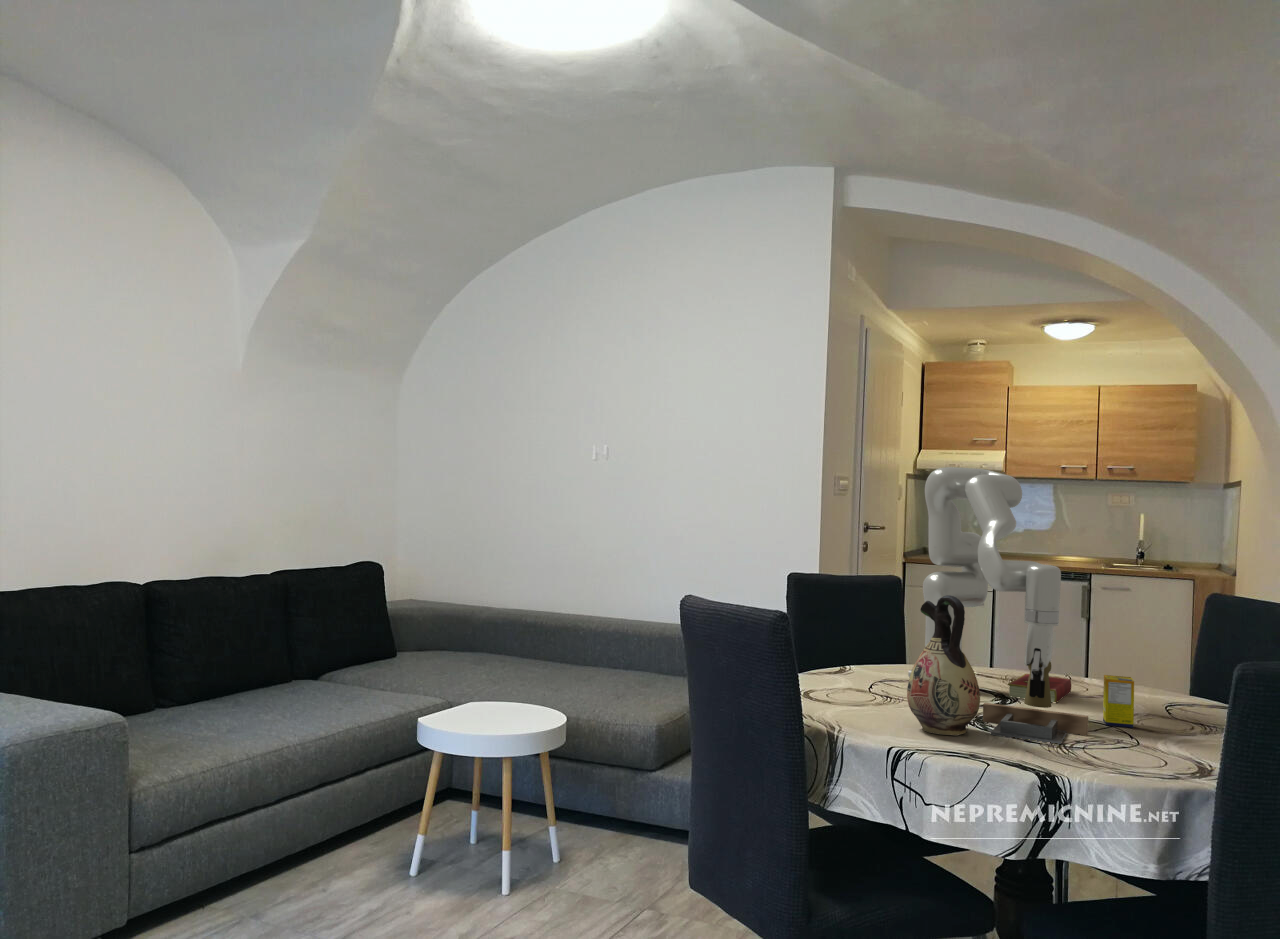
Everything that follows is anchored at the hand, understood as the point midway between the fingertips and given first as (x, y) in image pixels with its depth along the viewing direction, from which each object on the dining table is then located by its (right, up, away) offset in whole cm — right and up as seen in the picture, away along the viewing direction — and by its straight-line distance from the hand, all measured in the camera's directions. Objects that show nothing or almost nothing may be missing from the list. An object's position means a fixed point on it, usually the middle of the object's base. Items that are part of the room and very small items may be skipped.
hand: (1038, 694), depth 232 cm
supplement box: (+18, -7, -2) cm, 19 cm away
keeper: (-8, -5, -16) cm, 18 cm away
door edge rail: (-4, -6, -9) cm, 11 cm away
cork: (0, -3, 0) cm, 3 cm away
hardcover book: (+14, -8, +33) cm, 36 cm away
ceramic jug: (-27, -5, -17) cm, 32 cm away
